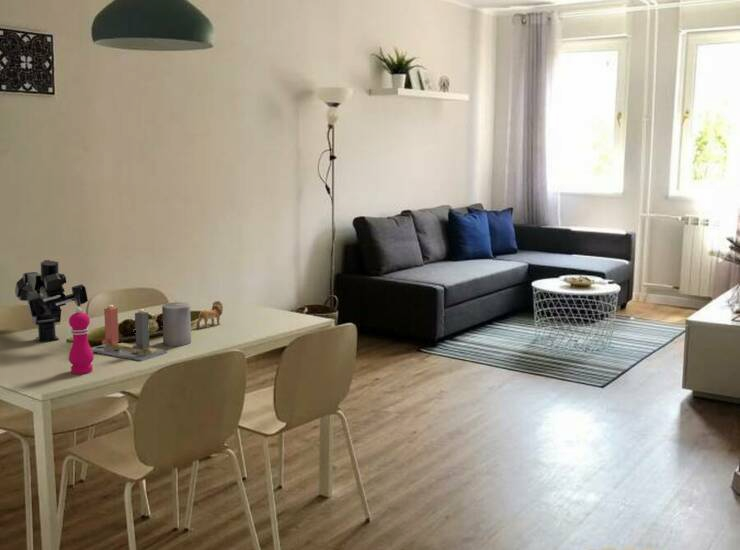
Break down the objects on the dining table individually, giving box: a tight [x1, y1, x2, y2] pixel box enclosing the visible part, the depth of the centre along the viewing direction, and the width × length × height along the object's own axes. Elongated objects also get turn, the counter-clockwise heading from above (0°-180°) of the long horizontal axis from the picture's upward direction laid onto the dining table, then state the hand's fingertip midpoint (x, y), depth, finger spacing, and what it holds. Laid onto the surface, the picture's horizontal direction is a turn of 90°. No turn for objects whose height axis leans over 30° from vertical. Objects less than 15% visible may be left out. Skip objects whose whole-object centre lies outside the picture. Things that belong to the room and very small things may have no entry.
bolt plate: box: [91, 342, 168, 362], centre depth 272 cm, size 24×12×2 cm, turn 61°
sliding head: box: [101, 304, 120, 348], centre depth 275 cm, size 3×5×14 cm, turn 151°
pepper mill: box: [68, 307, 95, 375], centre depth 247 cm, size 7×7×20 cm
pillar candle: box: [161, 301, 192, 347], centre depth 285 cm, size 10×10×15 cm
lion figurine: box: [195, 300, 224, 329], centre depth 312 cm, size 15×5×9 cm, turn 156°
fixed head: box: [133, 309, 150, 353], centre depth 268 cm, size 3×5×14 cm, turn 151°
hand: (65, 308), depth 267 cm, fingers open, 9 cm apart
